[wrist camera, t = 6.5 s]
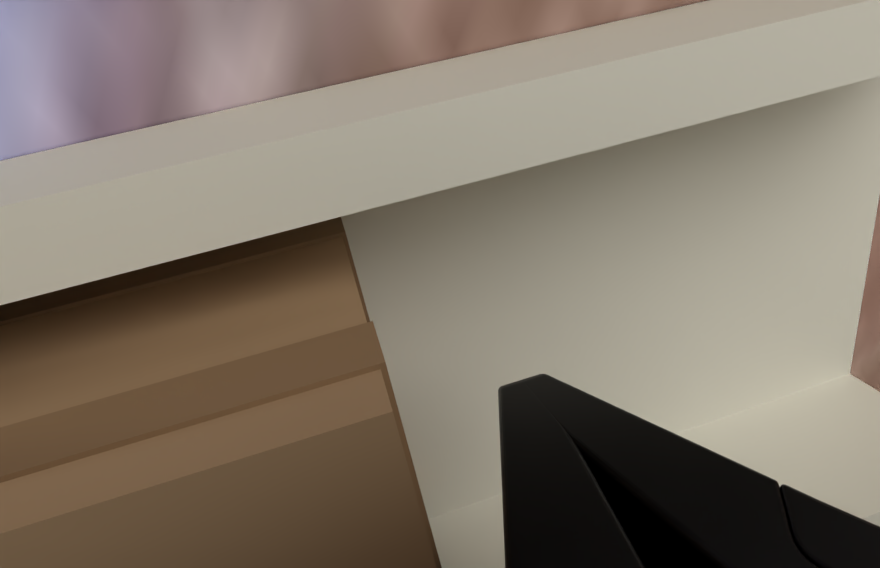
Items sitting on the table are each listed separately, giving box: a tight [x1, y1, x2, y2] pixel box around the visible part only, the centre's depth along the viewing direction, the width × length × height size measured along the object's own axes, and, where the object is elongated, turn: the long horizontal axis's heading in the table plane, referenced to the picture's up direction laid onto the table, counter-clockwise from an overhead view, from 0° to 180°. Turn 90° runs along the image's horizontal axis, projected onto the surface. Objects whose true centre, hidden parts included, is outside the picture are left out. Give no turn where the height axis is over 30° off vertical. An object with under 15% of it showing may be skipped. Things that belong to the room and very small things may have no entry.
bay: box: [0, 0, 880, 568], centre depth 9 cm, size 10×18×4 cm, turn 101°
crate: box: [0, 217, 442, 568], centre depth 7 cm, size 6×6×5 cm
